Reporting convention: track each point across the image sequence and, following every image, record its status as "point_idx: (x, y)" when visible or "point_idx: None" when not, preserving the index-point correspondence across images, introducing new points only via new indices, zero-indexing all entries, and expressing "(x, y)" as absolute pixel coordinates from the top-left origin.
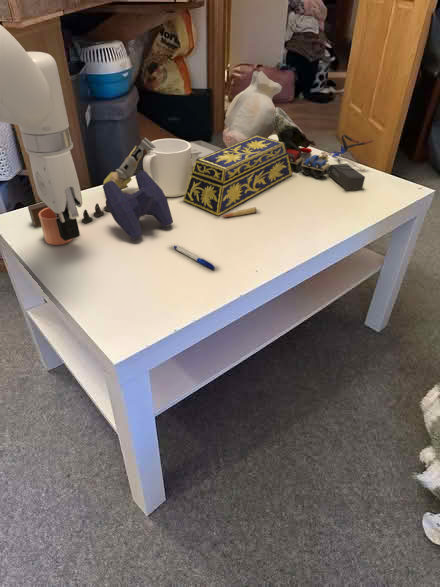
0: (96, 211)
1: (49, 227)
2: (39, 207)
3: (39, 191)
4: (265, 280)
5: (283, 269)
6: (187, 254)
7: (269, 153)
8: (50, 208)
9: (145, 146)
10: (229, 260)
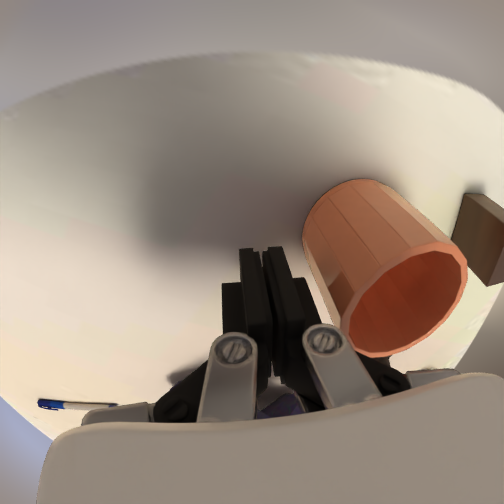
0: (380, 359)
1: (357, 238)
2: (499, 257)
3: (456, 469)
4: (16, 410)
5: (38, 428)
6: (81, 406)
7: None
8: (197, 434)
9: None
10: (63, 419)
